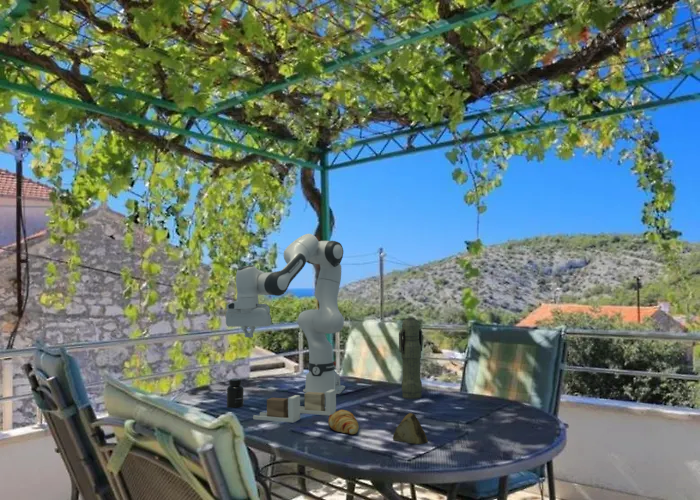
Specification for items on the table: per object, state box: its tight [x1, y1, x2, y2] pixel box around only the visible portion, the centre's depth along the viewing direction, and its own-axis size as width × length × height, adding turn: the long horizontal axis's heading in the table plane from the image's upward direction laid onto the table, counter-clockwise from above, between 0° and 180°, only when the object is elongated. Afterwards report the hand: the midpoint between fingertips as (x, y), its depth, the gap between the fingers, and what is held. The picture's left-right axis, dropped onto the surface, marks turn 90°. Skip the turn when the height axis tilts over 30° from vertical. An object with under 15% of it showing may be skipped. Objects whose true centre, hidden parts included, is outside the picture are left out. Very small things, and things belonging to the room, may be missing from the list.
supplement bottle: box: [226, 378, 244, 409], centre depth 243 cm, size 7×7×12 cm
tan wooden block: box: [304, 392, 326, 411], centre depth 229 cm, size 4×7×8 cm, turn 69°
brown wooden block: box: [266, 397, 288, 418], centre depth 219 cm, size 4×7×8 cm, turn 69°
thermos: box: [398, 317, 424, 400], centre depth 260 cm, size 9×12×35 cm
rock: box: [392, 412, 429, 445], centre depth 191 cm, size 11×9×10 cm
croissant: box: [327, 408, 360, 435], centre depth 207 cm, size 21×10×8 cm, turn 26°
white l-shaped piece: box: [300, 389, 337, 417], centre depth 229 cm, size 6×17×10 cm, turn 69°
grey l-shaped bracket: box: [252, 394, 301, 423], centre depth 219 cm, size 6×17×10 cm, turn 69°
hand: (249, 337), depth 241 cm, fingers closed
